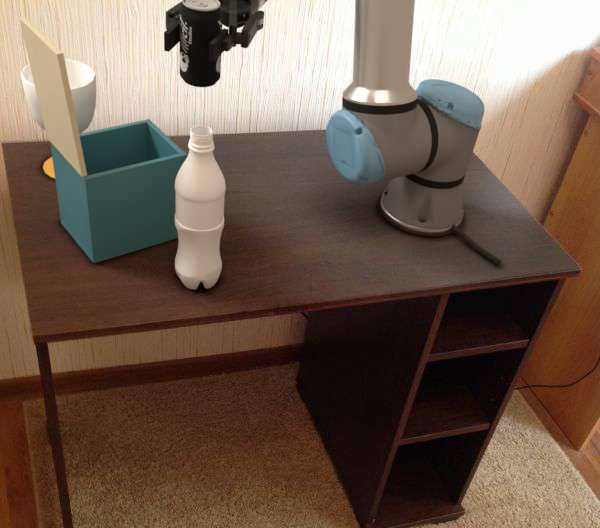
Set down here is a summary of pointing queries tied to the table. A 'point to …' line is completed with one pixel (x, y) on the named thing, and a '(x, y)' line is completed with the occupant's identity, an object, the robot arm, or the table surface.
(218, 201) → the water bottle
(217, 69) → the beverage can
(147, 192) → the box
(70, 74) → the cup
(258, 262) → the table surface
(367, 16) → the robot arm
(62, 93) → the cooler lid
